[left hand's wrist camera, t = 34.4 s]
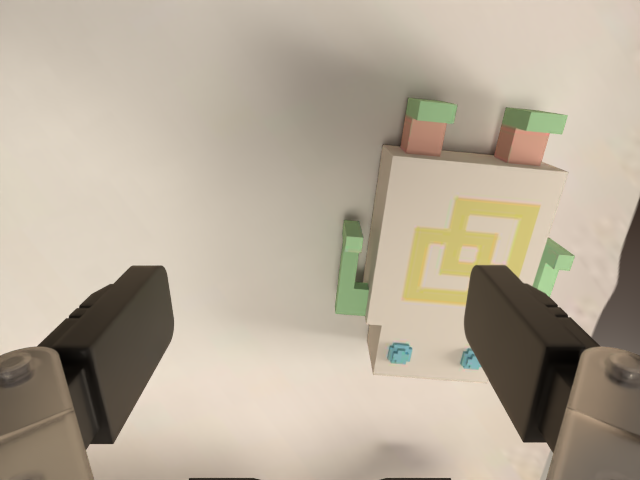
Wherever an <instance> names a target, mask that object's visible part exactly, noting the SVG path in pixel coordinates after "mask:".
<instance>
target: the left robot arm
mask: <svg viewBox="0 0 640 480" xmlns="http://www.w3.org/2000/svg"><path fill="white" fill-rule="evenodd" d="M173 330H174V317H173V310H172V303H171V297H170V290H169V284H168V277H167V272H166V270H165V268H164V267H163V266H131V267H130V268H129V269H128V270H127V271H126V272H125V273H124V274H123V275H122V276H121V277H120V278H119V279H118V280H117V281H116V282H115V283H114V284H110V285H108V286H106V287H104V288H102V289H100V290H98V291H97V292H95V293H93V294H91V295H90V296H89V297H88V298H87V299H86V300H85V301H84V302H83V303H82V304H81V305H80V306H79V308H77V309H76V310H75V311H73V312H72V313H71V314H70V315H69V318H66V319H65V320H64V321H63V322H62V323H61V324H60V325H59V326H58V327H57V328H56V329H55V330H54V331H53V332H52V333H50V334H49V335H48V336H47V337H46V338H45V339H44V340H43V341H42V342H41V343H40V344H39V345H38V346H37V347H28V348H23V349H18V350H15V351H11V352H8V353H6V354H3V355H1V356H0V480H94V478H93V474H92V471H91V467H90V463H89V460H88V456H87V453H86V449H87V448H88V446H89V444H114V442H115V440H116V438H117V436H118V435H119V433H120V431H121V429H122V428H123V426H124V424H125V422H126V420H127V419H128V417H129V415H130V413H131V411H132V410H133V408H134V406H135V404H136V403H137V401H138V399H139V397H140V395H141V394H142V392H143V390H144V388H145V387H146V385H147V383H148V381H149V379H150V378H151V376H152V374H153V372H154V370H155V369H156V367H157V365H158V363H159V362H160V360H161V358H162V356H163V354H164V353H165V351H166V349H167V347H168V346H169V344H170V342H171V339H172V336H173ZM464 331H465V336H466V339H467V342H468V343H469V345H470V347H471V349H472V351H473V352H474V354H475V356H476V358H477V360H478V361H479V363H480V365H481V367H482V369H483V371H484V372H485V374H486V376H487V378H488V380H489V381H490V383H491V385H492V387H493V389H494V390H495V392H496V394H497V396H498V398H499V399H500V401H501V403H502V405H503V407H504V408H505V410H506V412H507V414H508V416H509V417H510V419H511V421H512V423H513V425H514V426H515V428H516V430H517V432H518V434H519V435H520V437H521V439H522V441H523V442H547V444H548V445H549V447H550V449H551V450H552V452H553V456H552V460H551V464H550V467H549V471H548V474H547V478H546V480H640V356H639V355H637V354H634V353H632V352H629V351H625V350H622V349H617V348H612V347H601V346H599V345H598V344H597V343H596V342H595V341H594V340H593V339H592V338H591V337H590V336H589V335H588V334H587V333H586V332H585V331H584V330H583V329H582V328H581V327H580V326H579V325H578V324H577V323H576V322H575V321H574V320H573V319H572V318H571V317H568V315H567V314H566V313H565V312H564V311H563V310H562V309H561V308H560V307H558V305H557V304H556V303H555V302H554V301H553V300H552V299H551V298H550V297H549V296H548V295H547V294H546V293H544V292H542V291H540V290H538V289H536V288H535V287H533V286H531V285H529V284H527V283H523V282H522V281H521V280H520V279H519V278H518V277H517V276H516V275H515V274H514V273H513V272H512V271H511V270H510V269H509V268H508V267H507V266H506V265H475V266H474V267H473V268H472V271H471V275H470V281H469V288H468V294H467V301H466V308H465V314H464ZM189 480H259V479H255V478H189ZM381 480H451V478H385V479H381Z"/></svg>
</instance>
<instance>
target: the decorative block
mask: <svg viewBox="0 0 640 480" xmlns="http://www.w3.org/2000/svg"><path fill="white" fill-rule="evenodd" d="M456 110H457V104H453V103H448V102H443V101H435V100H425V99H415V98H408V103H407V109H406V115H405V122H404V128H403V134H402V140H401V146H392V145H383V147H382V154H381V160H380V167H379V174H378V181H377V188H376V195H375V201H374V208H373V215H372V222H371V229H370V236H369V242H368V249H367V256H366V263H365V270H364V277H363V282H355V277H356V270H357V263H358V256H359V253H361V251H362V244H363V235H362V231H361V227H360V223H359V221H349V220H344V225H343V233H342V235H343V245H342V253H341V261H340V269H339V278H338V286H337V294H336V302H335V313H336V314H346V315H358V316H365V319H366V324H369V331H368V338H367V343H368V348H369V354H370V360H371V365H372V371H373V375H382V376H396V377H409V378H422V379H435V380H449V381H462V382H475V383H487V382H488V378H487V376H486V374H485V372H484V371H483V369H482V367H481V365H480V363H479V361H478V360H477V358H476V356H475V354H474V352H473V351H472V349H471V347H470V345H469V343H468V342H467V339H466V336H465V331H464V314H465V308H466V301H467V294H468V288H469V281H470V275H471V271H472V268H473V267H474V266H475V265H506V266H507V267H508V268H509V269H510V270H511V271H512V272H513V273H514V274H515V275H516V276H517V277H518V278H519V279H520V280H521V281H522V282H523V283H527V284H529V285H531V286H533V287H535V288H536V289H538V290H540V291H542V292H544V293H546V294H547V295H548V296H549V297H550V295H551V292H552V289H553V286H554V283H555V280H556V277H557V274H558V271H559V270H567V271H570V269H571V266H572V263H573V260H574V257H575V256H574V255H573V254H571V253H570V252H569V251H567V250H566V249H564V248H563V247H561V246H560V245H559V244H557V243H556V242H554V241H553V240H552V239H550V238H548V235H549V232H550V229H551V226H552V223H553V220H554V217H555V213H556V210H557V207H558V204H559V201H560V198H561V194H562V191H563V188H564V185H565V182H566V179H567V175H568V172H567V171H564V170H562V169H559V168H556V167H554V166H551V165H549V164H546V163H544V162H542V158H543V155H544V151H545V148H546V144H547V141H548V138H549V134H550V133H553V134H562V133H563V130H564V126H565V123H566V120H567V116H568V115H562V114H556V113H550V112H544V111H537V110H527V109H517V108H506V109H505V113H504V117H503V122H502V126H501V130H500V134H499V138H498V142H497V146H496V150H495V154H494V155H487V154H477V153H466V152H455V151H445V150H442V145H443V140H444V135H445V130H446V125H447V123H449V124H454V120H455V115H456Z"/></svg>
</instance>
